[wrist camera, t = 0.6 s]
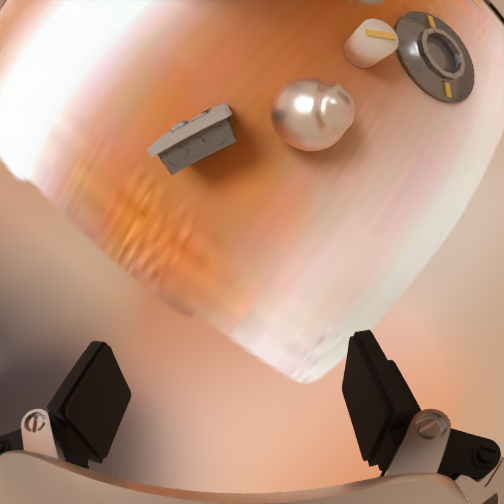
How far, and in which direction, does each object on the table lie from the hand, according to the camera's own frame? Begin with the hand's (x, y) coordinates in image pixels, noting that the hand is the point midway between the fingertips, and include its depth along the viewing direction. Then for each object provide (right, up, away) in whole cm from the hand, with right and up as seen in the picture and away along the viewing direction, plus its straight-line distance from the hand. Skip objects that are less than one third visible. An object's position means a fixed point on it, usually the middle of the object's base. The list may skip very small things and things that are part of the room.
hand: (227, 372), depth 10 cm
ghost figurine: (+8, +21, +23) cm, 32 cm away
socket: (+29, +35, +18) cm, 49 cm away
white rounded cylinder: (+16, +32, +19) cm, 40 cm away
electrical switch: (-5, +19, +23) cm, 31 cm away
